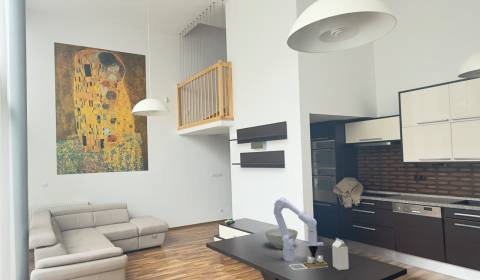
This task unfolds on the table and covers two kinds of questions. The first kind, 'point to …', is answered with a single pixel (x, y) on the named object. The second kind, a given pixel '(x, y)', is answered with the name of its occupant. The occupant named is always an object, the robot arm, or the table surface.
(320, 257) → the cylinder
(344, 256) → the milk carton
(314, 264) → the wooden compartment tray
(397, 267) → the table surface
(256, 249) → the table surface
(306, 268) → the square tray
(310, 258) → the cylinder
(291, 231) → the decorative bowl
